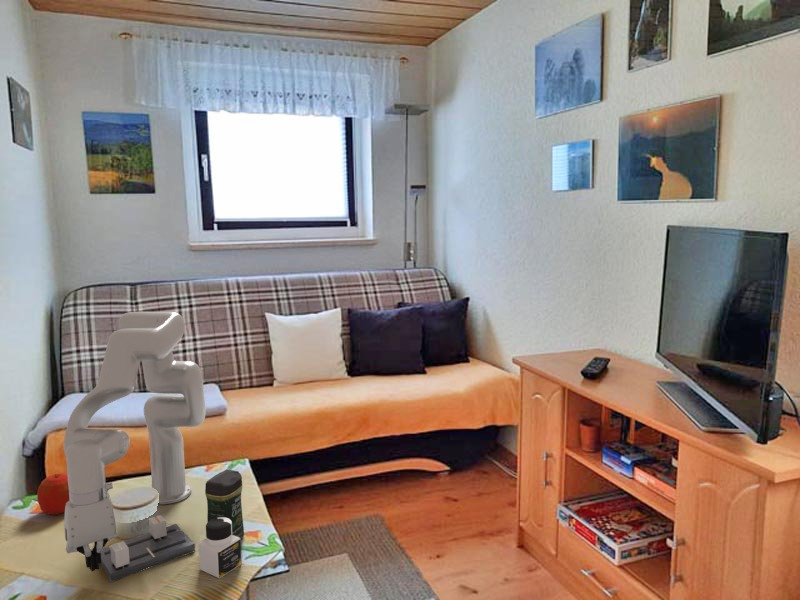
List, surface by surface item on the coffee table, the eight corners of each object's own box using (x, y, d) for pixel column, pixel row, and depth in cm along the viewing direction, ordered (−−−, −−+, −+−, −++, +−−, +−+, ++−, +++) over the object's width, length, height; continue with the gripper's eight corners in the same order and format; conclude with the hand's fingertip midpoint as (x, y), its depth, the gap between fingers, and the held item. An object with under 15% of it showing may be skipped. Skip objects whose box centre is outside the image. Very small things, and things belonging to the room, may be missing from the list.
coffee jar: (229, 554, 152) (225, 484, 149) (202, 548, 154) (198, 480, 151) (249, 534, 161) (247, 469, 158) (224, 530, 163) (221, 465, 160)
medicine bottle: (219, 579, 141) (217, 532, 139) (199, 570, 145) (196, 523, 143) (242, 564, 147) (240, 518, 145) (222, 555, 151) (220, 511, 149)
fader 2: (149, 532, 157) (148, 518, 156) (161, 529, 159) (160, 514, 158) (155, 539, 154) (154, 524, 153) (166, 535, 156) (165, 520, 155)
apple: (65, 520, 168) (62, 481, 167) (30, 519, 169) (26, 481, 167) (85, 502, 178) (82, 466, 177) (51, 502, 179) (48, 465, 177)
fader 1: (111, 560, 144) (110, 544, 144) (124, 556, 146) (123, 540, 146) (116, 568, 141) (115, 552, 141) (129, 563, 143) (128, 547, 143)
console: (96, 557, 150) (95, 549, 150) (176, 530, 163) (175, 523, 162) (111, 581, 140) (110, 573, 140) (195, 550, 153) (194, 543, 153)
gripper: (117, 479, 145) (123, 549, 148) (47, 498, 136) (54, 573, 138) (127, 490, 139) (132, 563, 142) (54, 510, 130) (61, 588, 133)
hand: (94, 567), depth 140 cm, fingers closed
